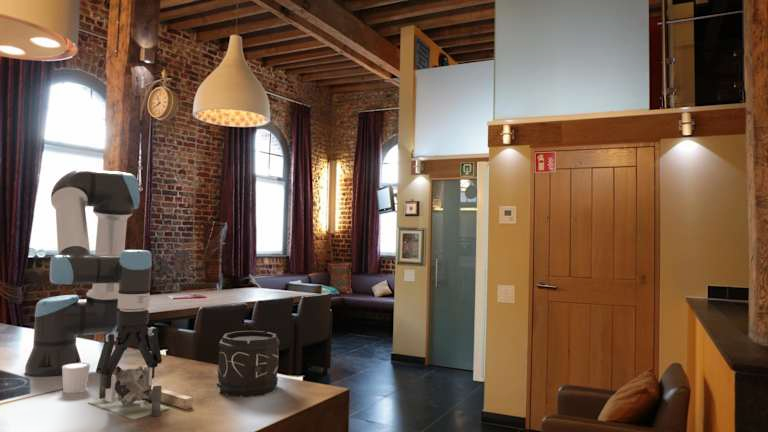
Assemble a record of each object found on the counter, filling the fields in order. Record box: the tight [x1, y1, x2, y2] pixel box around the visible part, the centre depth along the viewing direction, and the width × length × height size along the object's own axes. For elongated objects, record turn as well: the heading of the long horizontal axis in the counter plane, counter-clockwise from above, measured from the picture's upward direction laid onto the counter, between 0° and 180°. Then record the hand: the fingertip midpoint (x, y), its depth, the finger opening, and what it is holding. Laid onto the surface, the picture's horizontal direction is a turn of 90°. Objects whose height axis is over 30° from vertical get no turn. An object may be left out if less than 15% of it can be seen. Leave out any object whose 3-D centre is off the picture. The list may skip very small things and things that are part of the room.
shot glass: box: [61, 362, 91, 394], centre depth 153 cm, size 7×7×7 cm
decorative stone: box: [114, 365, 152, 406], centre depth 140 cm, size 16×9×10 cm, turn 45°
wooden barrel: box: [216, 330, 280, 398], centre depth 159 cm, size 18×18×16 cm
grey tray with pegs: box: [87, 374, 193, 420], centre depth 142 cm, size 26×14×7 cm, turn 57°
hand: (128, 396), depth 140 cm, fingers closed on decorative stone, 10 cm apart
